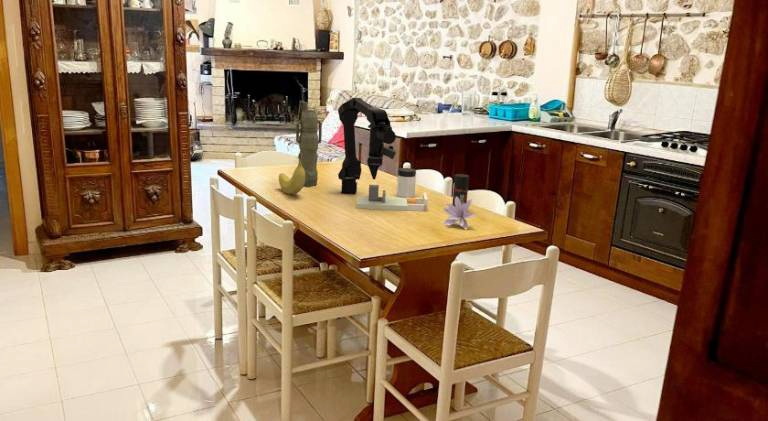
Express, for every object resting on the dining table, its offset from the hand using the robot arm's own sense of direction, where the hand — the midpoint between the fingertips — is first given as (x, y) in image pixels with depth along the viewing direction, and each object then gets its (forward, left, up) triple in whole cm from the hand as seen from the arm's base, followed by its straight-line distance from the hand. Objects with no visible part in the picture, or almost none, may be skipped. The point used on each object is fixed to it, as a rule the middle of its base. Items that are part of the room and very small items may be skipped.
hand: (374, 176), depth 260 cm
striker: (+2, -2, -10) cm, 10 cm away
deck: (+4, -2, -12) cm, 12 cm away
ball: (+16, -2, -10) cm, 19 cm away
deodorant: (+36, -4, -12) cm, 38 cm away
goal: (+18, -2, -12) cm, 22 cm away
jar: (+14, +18, -12) cm, 26 cm away
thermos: (-32, +29, -12) cm, 45 cm away
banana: (-37, +10, -12) cm, 40 cm away
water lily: (+33, -27, -12) cm, 44 cm away
